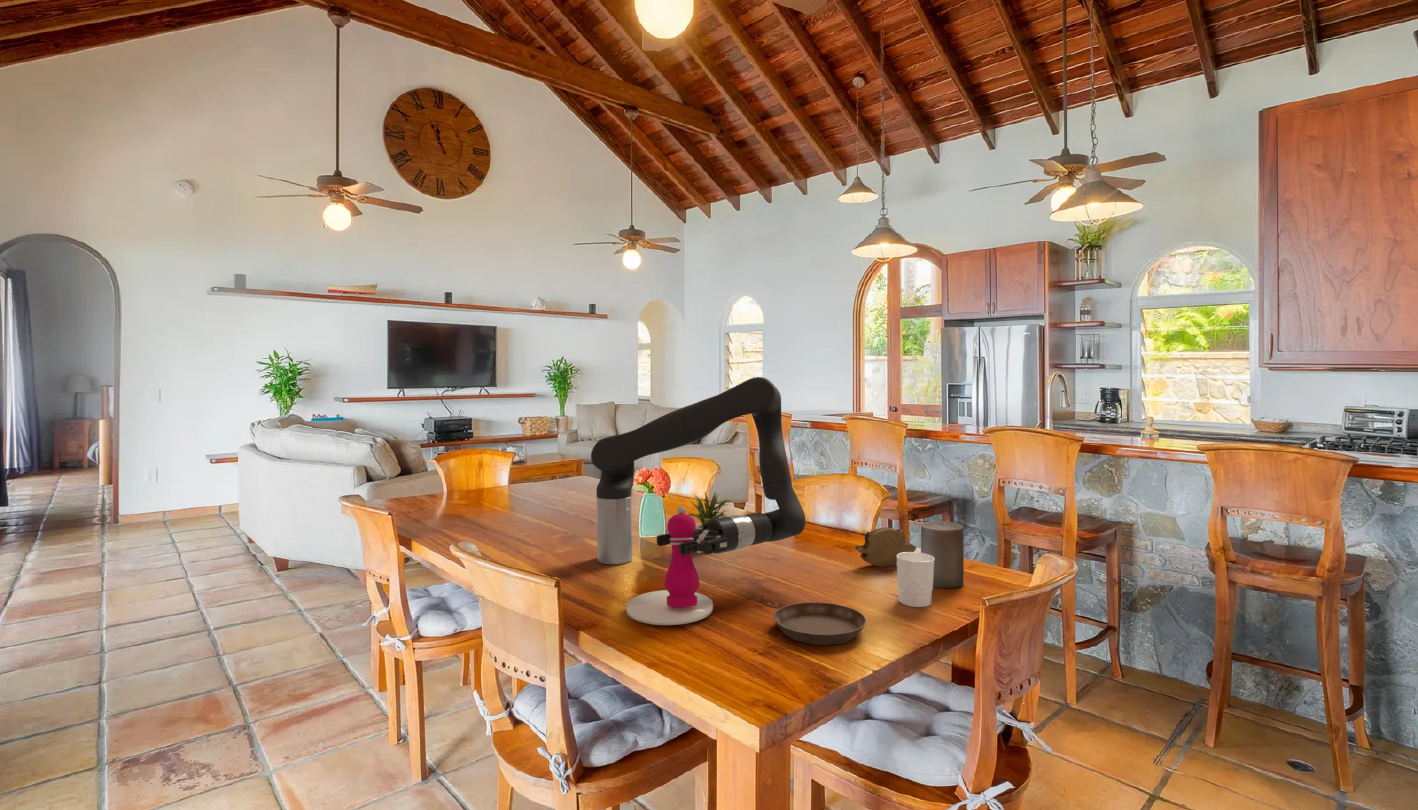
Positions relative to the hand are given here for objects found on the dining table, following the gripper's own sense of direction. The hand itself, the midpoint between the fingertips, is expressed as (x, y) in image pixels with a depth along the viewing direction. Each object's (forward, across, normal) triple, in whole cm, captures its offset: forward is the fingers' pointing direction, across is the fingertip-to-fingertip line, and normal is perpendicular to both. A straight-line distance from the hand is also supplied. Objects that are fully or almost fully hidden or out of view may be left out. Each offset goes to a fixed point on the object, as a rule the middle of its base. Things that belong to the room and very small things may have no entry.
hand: (668, 545), depth 139 cm
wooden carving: (-63, +5, +15) cm, 65 cm away
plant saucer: (-18, +26, +15) cm, 35 cm away
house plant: (-36, -34, +14) cm, 52 cm away
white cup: (-46, +27, +15) cm, 55 cm away
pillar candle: (-62, +22, +15) cm, 68 cm away
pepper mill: (-1, +4, +12) cm, 13 cm away
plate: (0, 0, +14) cm, 14 cm away
